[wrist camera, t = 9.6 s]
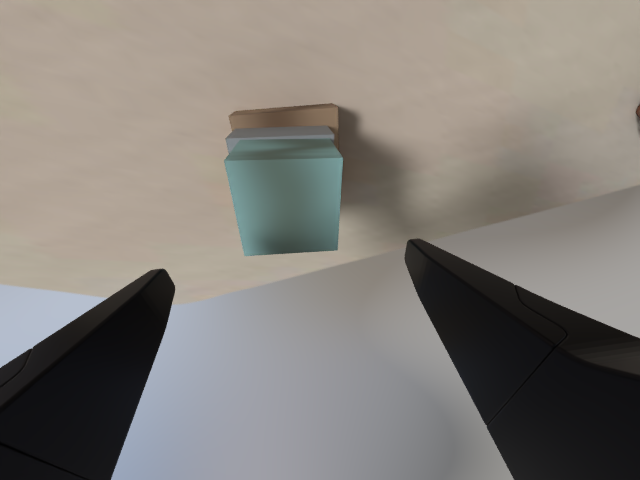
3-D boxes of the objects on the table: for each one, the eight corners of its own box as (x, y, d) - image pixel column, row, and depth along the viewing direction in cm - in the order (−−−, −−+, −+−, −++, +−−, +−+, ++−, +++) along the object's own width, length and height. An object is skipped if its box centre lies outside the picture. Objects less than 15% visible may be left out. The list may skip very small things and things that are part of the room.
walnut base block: (331, 102, 18) (338, 107, 16) (333, 190, 22) (339, 204, 20) (236, 110, 18) (228, 116, 15) (256, 198, 22) (252, 213, 19)
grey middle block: (327, 125, 16) (334, 134, 14) (326, 206, 19) (332, 225, 17) (235, 128, 16) (225, 138, 13) (251, 211, 19) (246, 231, 16)
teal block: (329, 138, 14) (343, 158, 10) (327, 215, 17) (337, 250, 13) (239, 139, 13) (224, 160, 10) (253, 219, 16) (244, 256, 13)
